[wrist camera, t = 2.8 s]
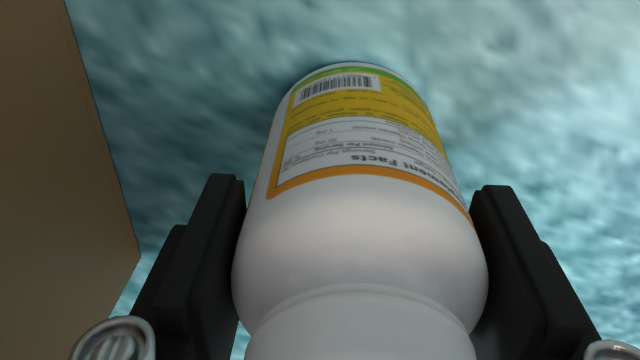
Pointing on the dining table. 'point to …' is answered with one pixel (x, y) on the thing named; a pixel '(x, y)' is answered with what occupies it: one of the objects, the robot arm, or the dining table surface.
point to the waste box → (54, 191)
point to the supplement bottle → (357, 229)
